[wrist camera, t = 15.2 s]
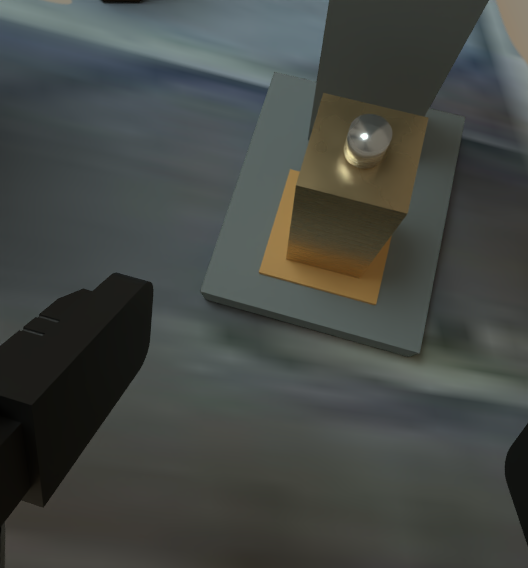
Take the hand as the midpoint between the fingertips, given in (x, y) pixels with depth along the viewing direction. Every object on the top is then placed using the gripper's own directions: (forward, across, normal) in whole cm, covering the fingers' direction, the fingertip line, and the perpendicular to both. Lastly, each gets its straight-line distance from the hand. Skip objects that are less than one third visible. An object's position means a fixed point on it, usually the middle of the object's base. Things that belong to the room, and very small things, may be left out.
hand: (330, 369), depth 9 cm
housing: (+17, 0, +4) cm, 18 cm away
